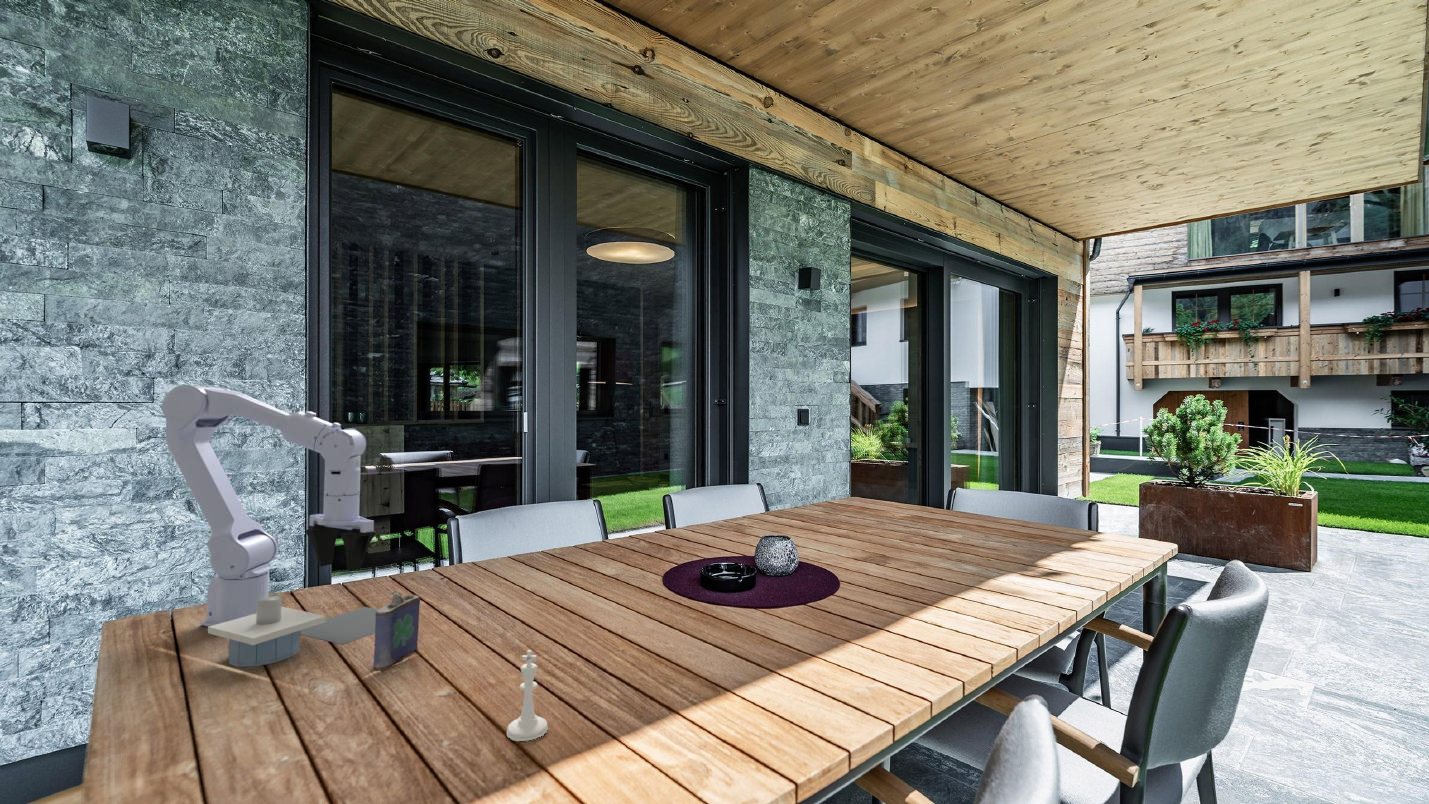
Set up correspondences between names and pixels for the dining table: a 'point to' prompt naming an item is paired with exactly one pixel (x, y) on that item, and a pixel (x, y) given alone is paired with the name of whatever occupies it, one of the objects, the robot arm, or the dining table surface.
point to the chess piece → (527, 707)
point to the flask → (396, 630)
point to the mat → (345, 626)
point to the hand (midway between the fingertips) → (339, 567)
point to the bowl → (264, 650)
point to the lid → (266, 622)
